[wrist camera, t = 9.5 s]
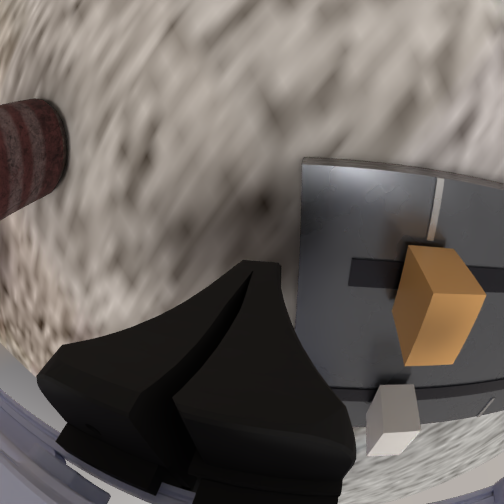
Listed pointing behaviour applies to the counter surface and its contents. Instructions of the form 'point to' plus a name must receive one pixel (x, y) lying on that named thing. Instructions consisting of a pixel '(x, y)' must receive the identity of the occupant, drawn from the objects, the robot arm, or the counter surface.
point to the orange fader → (435, 306)
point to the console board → (396, 281)
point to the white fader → (392, 420)
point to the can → (29, 153)
